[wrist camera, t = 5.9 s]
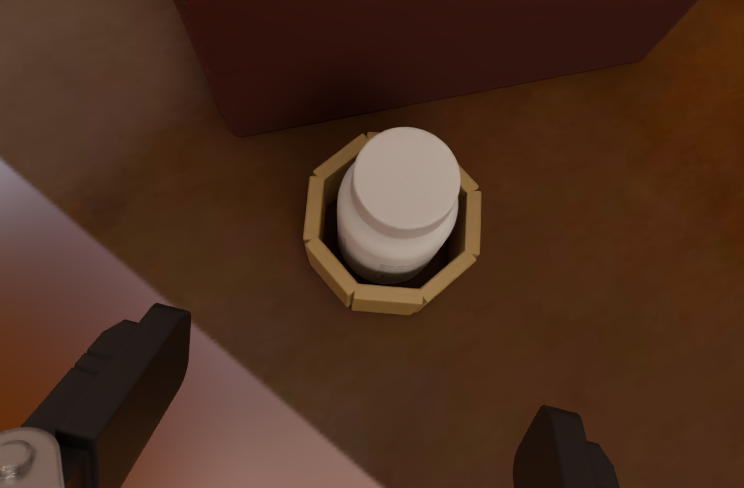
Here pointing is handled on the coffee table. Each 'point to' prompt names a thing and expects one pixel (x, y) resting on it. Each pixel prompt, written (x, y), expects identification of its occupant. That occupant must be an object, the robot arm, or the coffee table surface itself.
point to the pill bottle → (397, 204)
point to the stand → (375, 296)
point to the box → (402, 50)
